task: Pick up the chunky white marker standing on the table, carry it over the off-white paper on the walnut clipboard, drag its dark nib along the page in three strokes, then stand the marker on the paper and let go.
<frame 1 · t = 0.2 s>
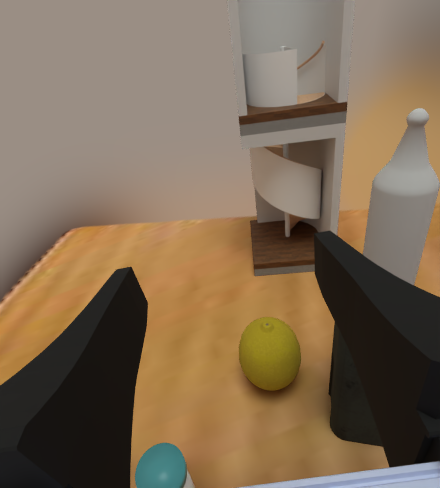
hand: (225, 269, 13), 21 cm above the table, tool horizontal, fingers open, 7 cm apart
lemon: (271, 380, 32), on the table
white tiered tower model: (288, 249, 49), on the table
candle: (360, 413, 28), on the table
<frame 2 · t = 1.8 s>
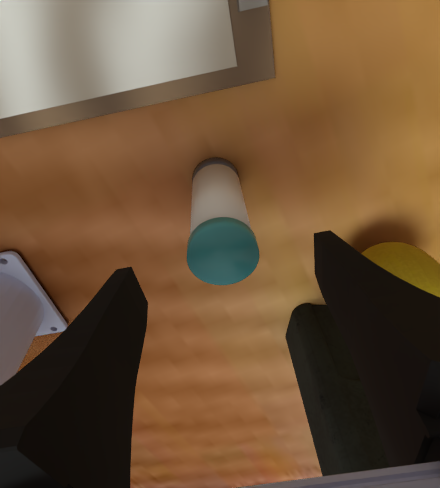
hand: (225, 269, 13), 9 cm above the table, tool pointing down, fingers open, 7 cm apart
lemon: (369, 250, 24), on the table
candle: (316, 322, 28), on the table
marker: (215, 179, 20), on the table
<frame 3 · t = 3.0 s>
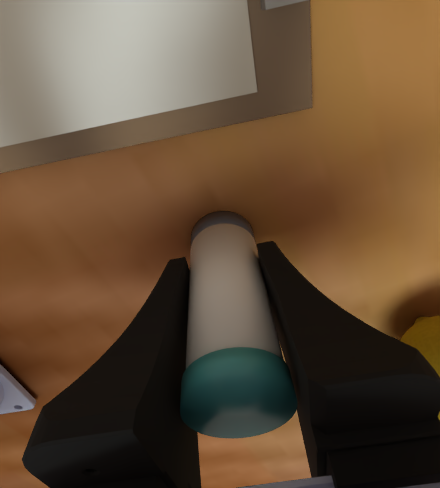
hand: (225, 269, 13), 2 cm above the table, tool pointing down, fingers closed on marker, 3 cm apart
lemon: (418, 316, 19), on the table
marker: (222, 238, 15), on the table, touching gripper
when the fingers open (3 cm above the table, at t = 8.9 s): marker stays where it is, resting on clipboard.
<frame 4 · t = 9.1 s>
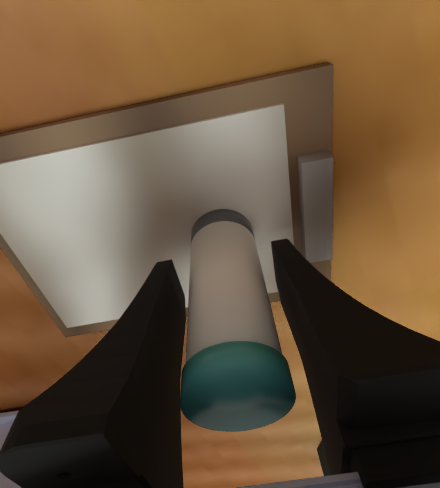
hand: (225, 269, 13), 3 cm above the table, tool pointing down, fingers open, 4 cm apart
clipboard: (167, 227, 15), on the table
marker: (222, 235, 15), point 1 cm above the table, touching clipboard
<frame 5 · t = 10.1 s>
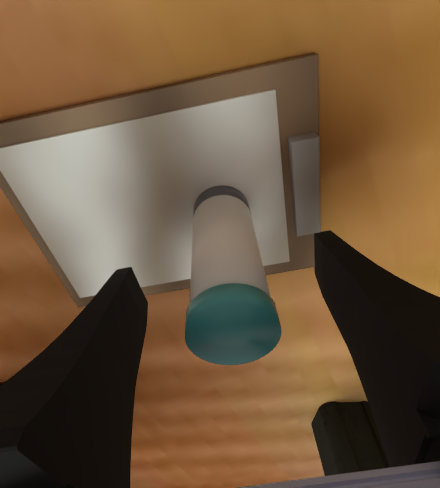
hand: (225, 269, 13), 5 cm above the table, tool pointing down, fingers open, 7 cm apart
clipboard: (171, 203, 17), on the table
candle: (340, 413, 31), on the table
marker: (221, 210, 16), point 1 cm above the table, touching clipboard
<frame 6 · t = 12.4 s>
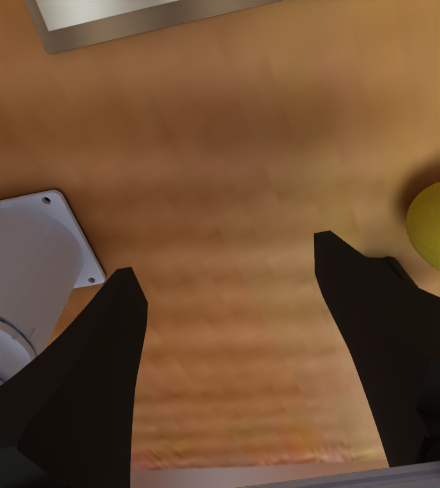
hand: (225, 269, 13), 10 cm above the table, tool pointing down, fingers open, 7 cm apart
lemon: (423, 195, 23), on the table
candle: (360, 278, 27), on the table
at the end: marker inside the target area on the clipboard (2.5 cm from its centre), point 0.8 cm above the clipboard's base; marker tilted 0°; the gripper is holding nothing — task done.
